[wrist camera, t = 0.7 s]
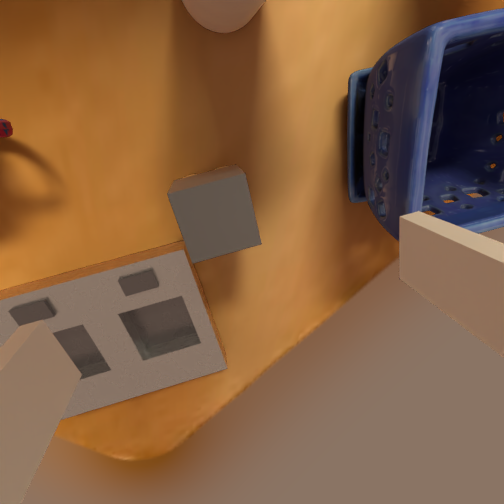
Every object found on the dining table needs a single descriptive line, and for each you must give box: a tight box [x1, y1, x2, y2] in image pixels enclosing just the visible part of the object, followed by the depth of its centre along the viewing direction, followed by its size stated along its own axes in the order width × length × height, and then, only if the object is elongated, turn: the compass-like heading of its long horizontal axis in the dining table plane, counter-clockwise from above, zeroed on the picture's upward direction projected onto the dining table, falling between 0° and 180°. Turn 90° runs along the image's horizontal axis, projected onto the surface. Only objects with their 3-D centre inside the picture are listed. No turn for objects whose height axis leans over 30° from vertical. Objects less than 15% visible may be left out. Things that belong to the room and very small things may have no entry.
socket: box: [0, 240, 227, 420], centre depth 30 cm, size 16×20×3 cm
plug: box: [167, 164, 262, 264], centre depth 23 cm, size 5×5×10 cm
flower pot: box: [347, 8, 504, 241], centre depth 22 cm, size 13×13×12 cm
